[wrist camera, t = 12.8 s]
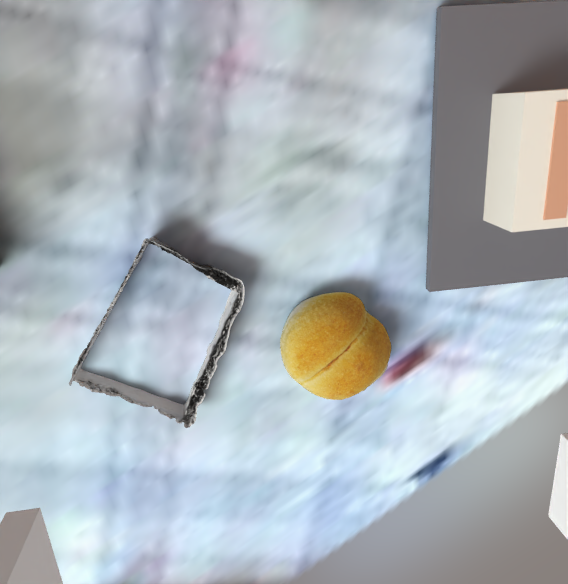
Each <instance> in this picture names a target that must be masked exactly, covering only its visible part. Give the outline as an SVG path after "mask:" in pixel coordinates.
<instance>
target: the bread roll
mask: <svg viewBox="0 0 568 584" xmlns="http://www.w3.org/2000/svg"><path fill="white" fill-rule="evenodd" d="M280 348H281V355H282V360H283V363H284V366H285V368H286V370H287V372H288V373H289V375H290V376H291V377H292V378H293V379H294V380H295V381H296V382H298V383H299V384H300V385H302V386H303V387H304V388H305V389H307V390H308V391H310V392H311V393H313V394H315V395H317V396H320V397H323V398H326V399H334V400H342V399H345V398H349V397H351V396H353V395H355V394H357V393H359V392H361V391H364V390H365V389H366V388H367V387H368V386H370V385H371V384H372V383H374V382H375V381H376V380H377V379H378V378H379V377H381V376H382V375H383V373H384V372H385V370H386V369H387V366H388V364H387V363H388V361H389V358H390V353H391V342H390V339H389V336H388V333H387V331H386V329H385V327H384V326H383V325H382V324H381V323H380V322H379V321H378V320H377V319H376V318H374V317H373V316H371V315H370V314H369V313H368V312H367V311H366V310H365V307H364V304H363V303H362V301H361V300H360V299H359V298H358V297H356V296H354V295H353V294H350V293H346V292H334V293H326V294H321V295H318V296H314V297H311V298H309V299H306V300H304V301H303V302H301V303H300V304H299V305H297V306H296V307H295V308H294V309H293V311H292V312H291V313H290V315H289V316H288V318H287V321H286V323H285V326H284V328H283V331H282V335H281V341H280Z"/></svg>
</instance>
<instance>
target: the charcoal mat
mask: <svg viewBox="0 0 568 584" xmlns="http://www.w3.org/2000/svg"><path fill="white" fill-rule="evenodd" d="M555 89H568V0H560V1H540V2H520V3H500V4H479V5H459V6H442V7H439V8H437V16H436V42H435V67H434V93H433V119H432V144H431V170H430V195H429V221H428V247H427V272H426V289H427V290H428V291H429V292H433V291H442V290H451V289H461V288H470V287H479V286H489V285H498V284H507V283H517V282H526V281H535V280H545V279H554V278H563V277H568V227H561V228H551V229H541V230H531V231H521V232H510V231H507V230H505V229H503V228H500V227H498V226H496V225H493V224H491V223H488V222H486V221H484V220H483V215H484V202H485V189H486V175H487V162H488V148H489V135H490V121H491V108H492V94H500V93H514V92H528V91H542V90H555Z"/></svg>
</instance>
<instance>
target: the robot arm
mask: <svg viewBox="0 0 568 584" xmlns="http://www.w3.org/2000/svg"><path fill="white" fill-rule="evenodd" d="M548 516H549V517H550V519H551V520H552V521H553V522H554V523H555V525H556V526H557V527H558V528H559V530H560V531H561V532H562V533H563V534H564V536H565V537H566V538H567V539H568V433H564V434H561V437H560V444H559V450H558V457H557V463H556V470H555V476H554V483H553V489H552V495H551V503H550V508H549V515H548ZM0 584H63V583H62V579H61V576H60V573H59V569H58V566H57V563H56V559H55V556H54V553H53V549H52V546H51V543H50V539H49V536H48V533H47V529H46V526H45V523H44V519H43V516H42V513H41V510H40V508H36V509H29V510H22V511H14V512H7V513H6V514H5V516H4V518H3V520H2V522H1V524H0Z"/></svg>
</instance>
